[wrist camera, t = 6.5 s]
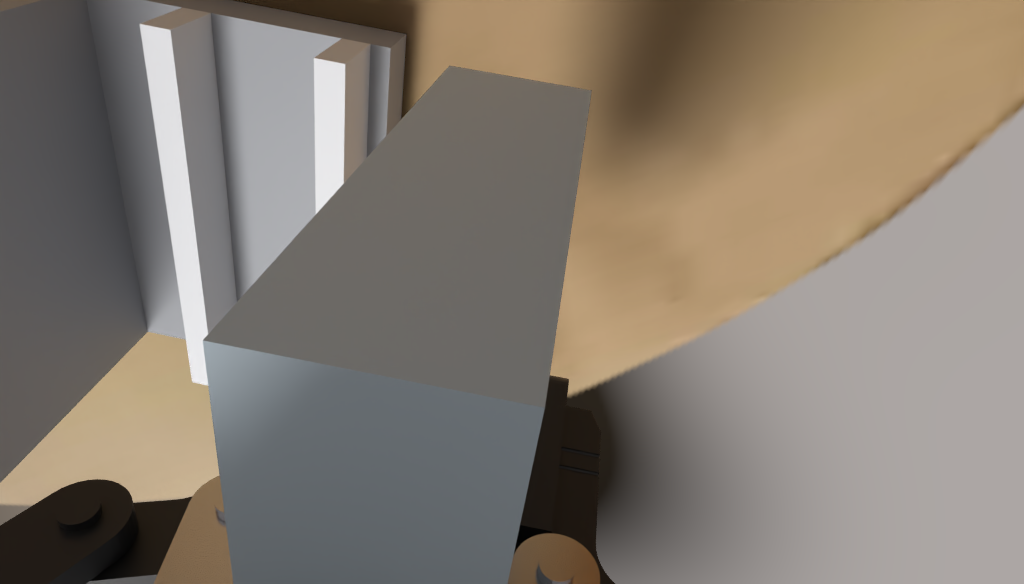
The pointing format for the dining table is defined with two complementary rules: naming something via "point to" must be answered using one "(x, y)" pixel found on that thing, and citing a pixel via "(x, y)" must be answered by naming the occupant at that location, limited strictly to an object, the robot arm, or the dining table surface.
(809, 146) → the dining table surface
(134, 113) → the grey slotted stand
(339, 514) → the door panel
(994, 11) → the dining table surface
